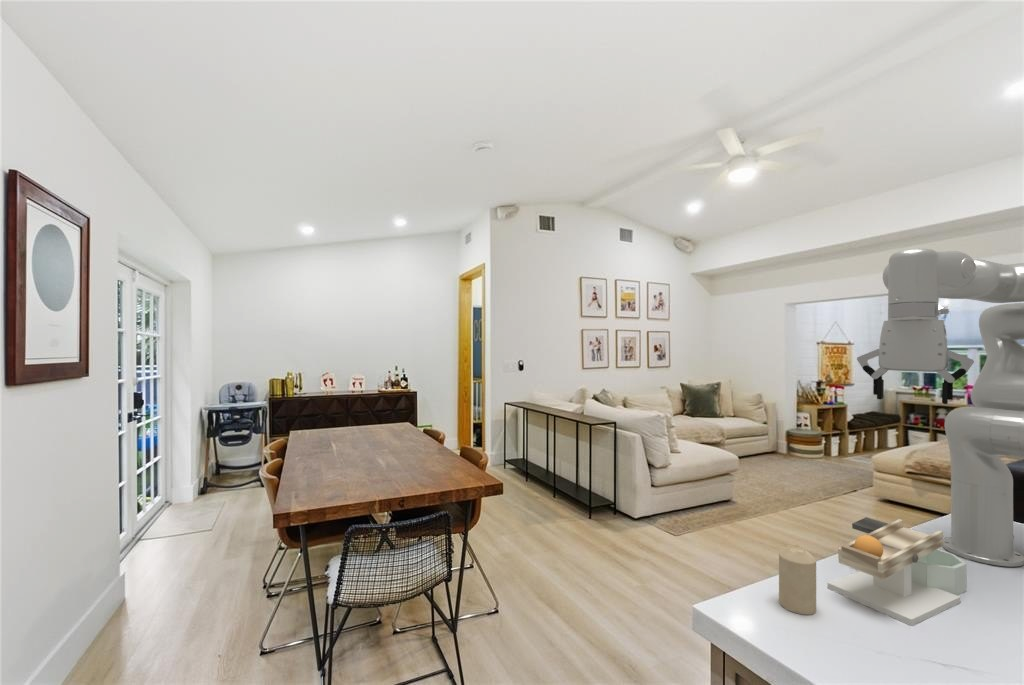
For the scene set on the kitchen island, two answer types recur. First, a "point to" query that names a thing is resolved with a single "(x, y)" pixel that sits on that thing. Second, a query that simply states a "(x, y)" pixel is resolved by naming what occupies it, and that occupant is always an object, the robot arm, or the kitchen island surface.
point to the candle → (797, 580)
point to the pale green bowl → (941, 572)
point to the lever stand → (895, 595)
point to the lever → (889, 547)
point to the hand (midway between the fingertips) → (911, 401)
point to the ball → (869, 545)
